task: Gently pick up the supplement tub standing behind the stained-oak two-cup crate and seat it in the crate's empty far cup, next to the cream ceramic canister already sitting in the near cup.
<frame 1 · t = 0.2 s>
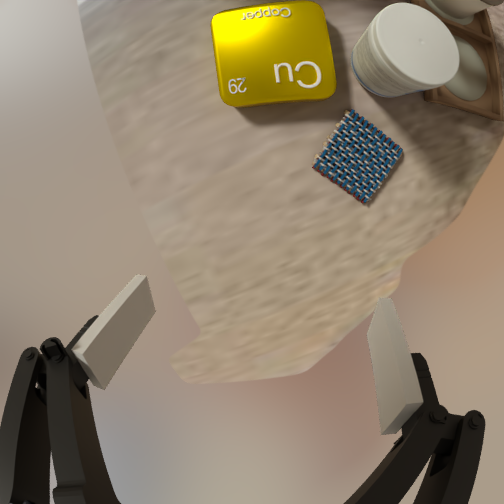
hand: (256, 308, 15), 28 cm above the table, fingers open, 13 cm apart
woven mat: (356, 156, 35), on the table
supplement tub: (381, 66, 28), on the table
crate: (453, 30, 20), on the table
element tile: (275, 56, 30), on the table
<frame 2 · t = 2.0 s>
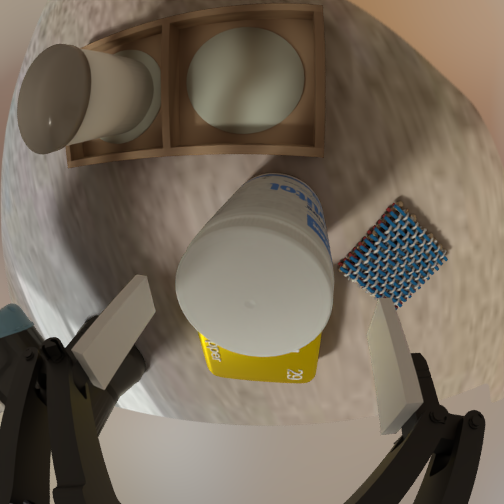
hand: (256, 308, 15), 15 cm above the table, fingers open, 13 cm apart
woven mat: (394, 256, 28), on the table
supplement tub: (275, 215, 28), on the table
canister: (119, 96, 23), point 1 cm above the table, touching crate
crate: (177, 85, 23), on the table
element tile: (262, 323, 36), on the table
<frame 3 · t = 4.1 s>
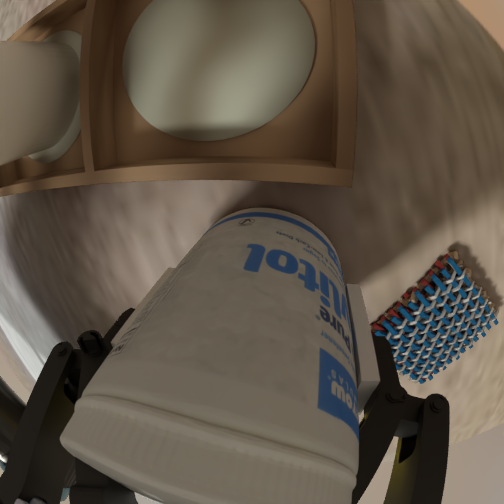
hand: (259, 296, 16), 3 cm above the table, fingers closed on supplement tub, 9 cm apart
woven mat: (432, 319, 18), on the table
supplement tub: (266, 270, 18), on the table, touching gripper
canister: (45, 96, 13), point 1 cm above the table, touching crate
crate: (114, 70, 13), on the table
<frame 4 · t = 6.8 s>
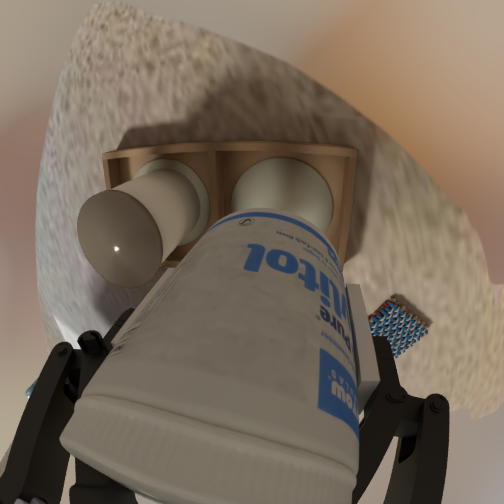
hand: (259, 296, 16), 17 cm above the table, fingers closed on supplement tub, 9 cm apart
woven mat: (386, 329, 36), on the table
supplement tub: (266, 270, 18), point 14 cm above the table, touching gripper
canister: (166, 204, 32), point 1 cm above the table, touching crate
crate: (222, 203, 31), on the table
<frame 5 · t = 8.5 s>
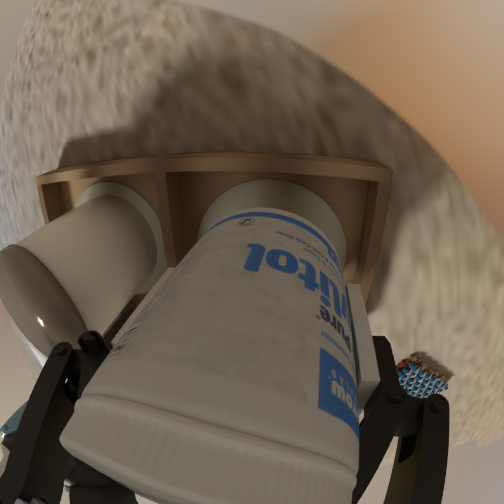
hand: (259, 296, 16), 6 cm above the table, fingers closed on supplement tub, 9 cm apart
woven mat: (400, 385, 27), on the table
supplement tub: (266, 270, 18), point 3 cm above the table, touching gripper
canister: (115, 242, 22), point 1 cm above the table, touching crate
crate: (186, 243, 22), on the table
when the fingers open (5 cm above the table, at t = 9.7 s): supplement tub drops 2 cm, resting on crate.
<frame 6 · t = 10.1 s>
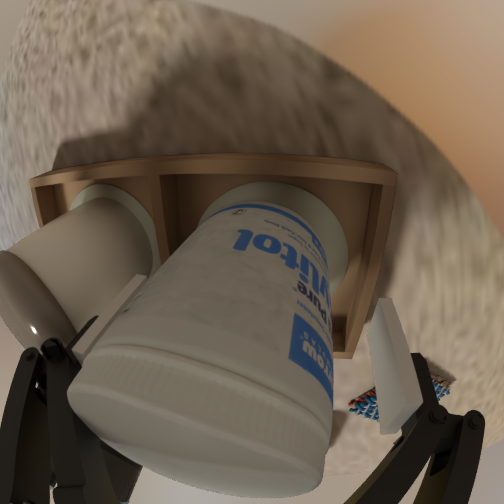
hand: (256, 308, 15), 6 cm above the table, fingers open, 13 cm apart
woven mat: (401, 390, 26), on the table
supplement tub: (258, 258, 20), point 1 cm above the table, touching crate
canister: (110, 246, 21), point 1 cm above the table, touching crate, gripper
crate: (182, 247, 21), on the table
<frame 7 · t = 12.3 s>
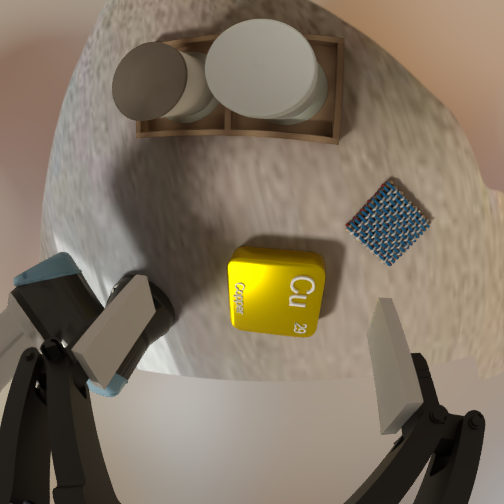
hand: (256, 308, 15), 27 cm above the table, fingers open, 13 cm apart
woven mat: (388, 222, 38), on the table
supplement tub: (279, 85, 31), point 1 cm above the table, touching crate
canister: (186, 86, 32), point 1 cm above the table, touching crate
crate: (234, 84, 32), on the table
element tile: (277, 286, 47), on the table
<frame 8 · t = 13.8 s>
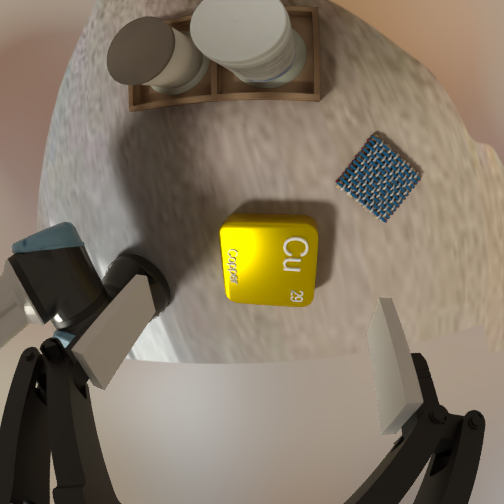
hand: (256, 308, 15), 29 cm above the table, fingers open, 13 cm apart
woven mat: (378, 178, 37), on the table
supplement tub: (261, 53, 30), point 1 cm above the table, touching crate
canister: (175, 61, 32), point 1 cm above the table, touching crate
crate: (220, 56, 32), on the table
element tile: (271, 254, 46), on the table
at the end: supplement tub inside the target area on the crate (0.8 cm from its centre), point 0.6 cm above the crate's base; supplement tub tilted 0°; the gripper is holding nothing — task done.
